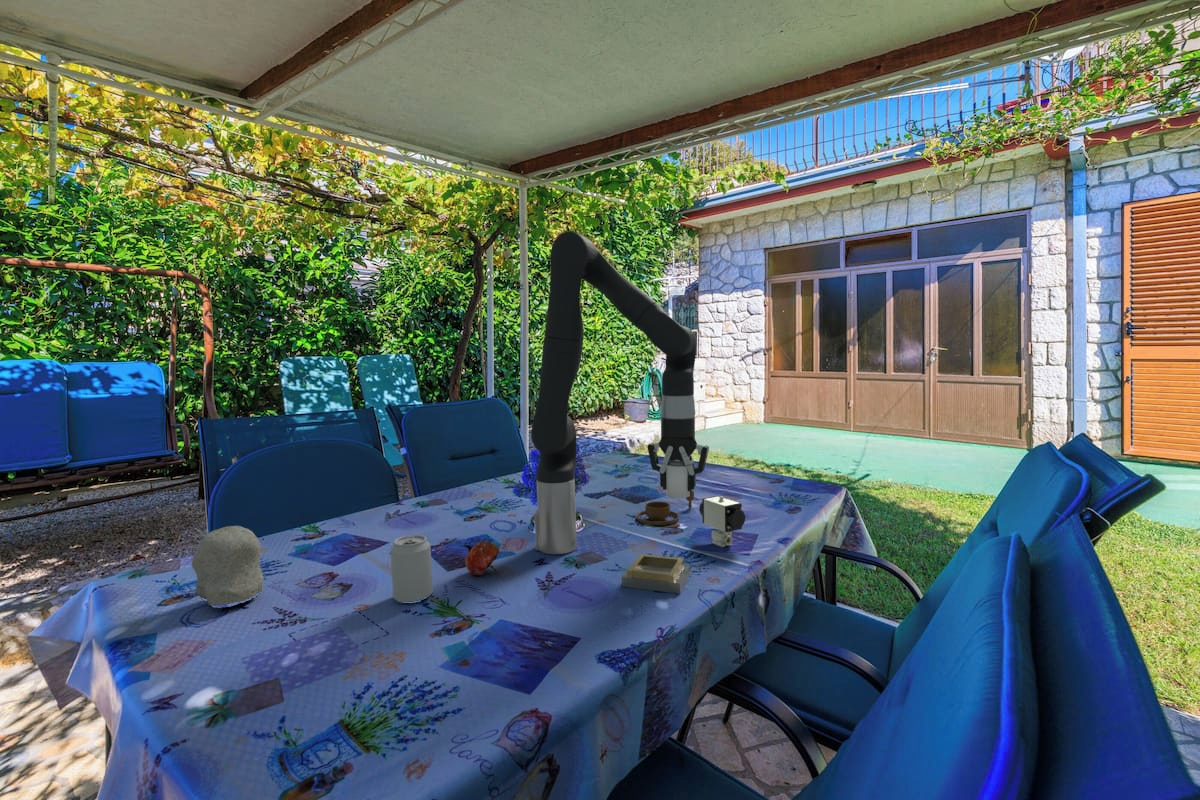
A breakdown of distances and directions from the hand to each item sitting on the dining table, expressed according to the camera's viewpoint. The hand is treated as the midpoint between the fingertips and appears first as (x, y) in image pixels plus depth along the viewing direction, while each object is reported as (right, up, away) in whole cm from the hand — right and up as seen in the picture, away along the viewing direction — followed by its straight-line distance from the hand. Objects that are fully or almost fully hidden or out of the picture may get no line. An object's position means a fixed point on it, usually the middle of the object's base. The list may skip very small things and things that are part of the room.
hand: (677, 489), depth 128 cm
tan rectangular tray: (-6, -17, -10) cm, 21 cm away
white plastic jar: (0, -1, 0) cm, 1 cm away
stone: (-91, -20, -16) cm, 95 cm away
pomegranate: (-43, -18, -4) cm, 47 cm away
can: (-55, -19, -15) cm, 60 cm away
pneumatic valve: (+13, -15, +11) cm, 23 cm away
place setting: (+3, -14, +34) cm, 37 cm away
